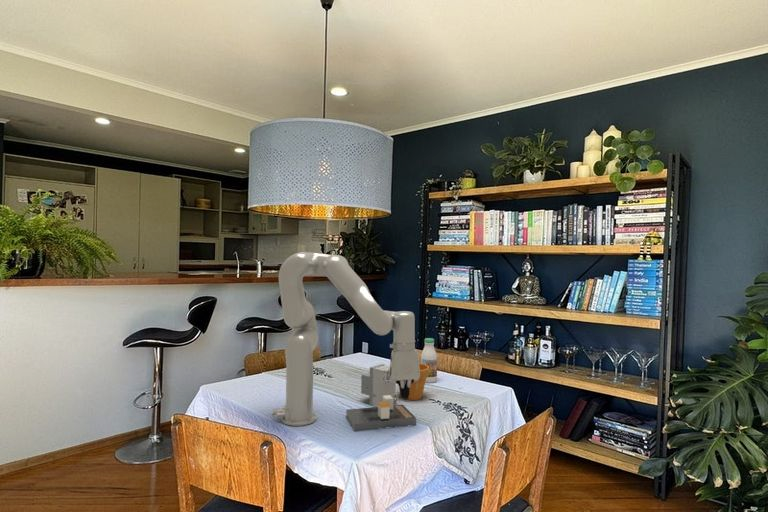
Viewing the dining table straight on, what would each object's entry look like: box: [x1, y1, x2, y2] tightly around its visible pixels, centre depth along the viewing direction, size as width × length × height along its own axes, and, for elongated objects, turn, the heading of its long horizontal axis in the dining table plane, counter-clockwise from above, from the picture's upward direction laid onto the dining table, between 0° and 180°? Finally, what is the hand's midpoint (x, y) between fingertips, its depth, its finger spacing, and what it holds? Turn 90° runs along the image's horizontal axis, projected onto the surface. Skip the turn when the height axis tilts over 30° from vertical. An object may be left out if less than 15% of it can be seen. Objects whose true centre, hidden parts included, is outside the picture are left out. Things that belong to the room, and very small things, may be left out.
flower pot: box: [398, 362, 429, 401], centre depth 186 cm, size 14×14×13 cm
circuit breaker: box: [360, 363, 398, 407], centre depth 178 cm, size 8×14×15 cm, turn 51°
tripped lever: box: [378, 401, 390, 419], centre depth 156 cm, size 3×4×5 cm
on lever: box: [382, 395, 393, 410], centre depth 164 cm, size 3×4×4 cm
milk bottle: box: [420, 337, 438, 384], centre depth 210 cm, size 8×8×20 cm
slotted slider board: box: [345, 404, 417, 432], centre depth 159 cm, size 22×14×3 cm, turn 107°
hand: (404, 397), depth 158 cm, fingers closed
